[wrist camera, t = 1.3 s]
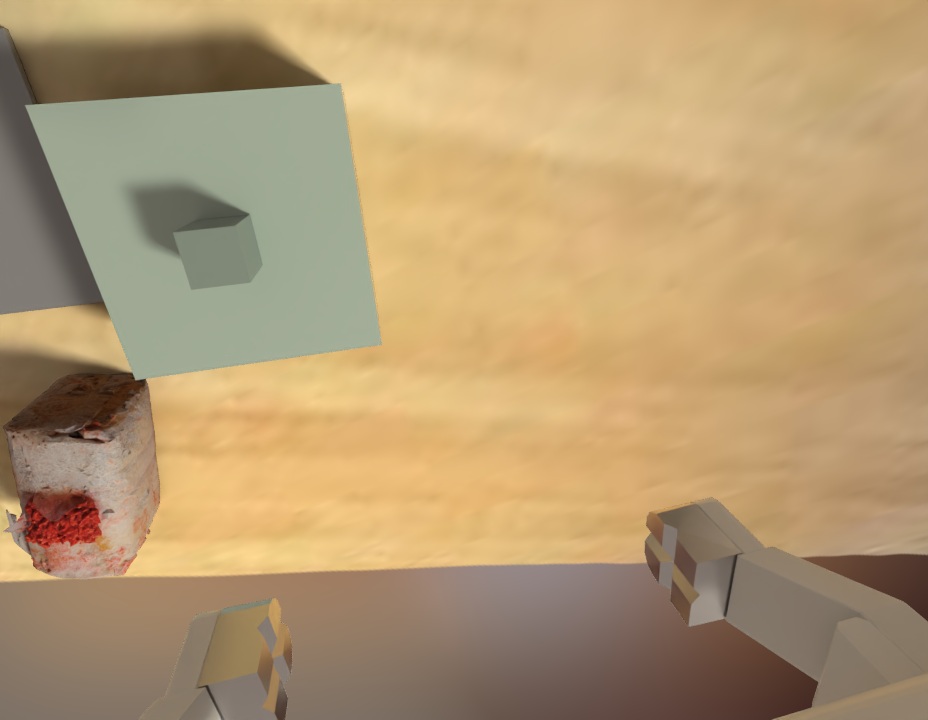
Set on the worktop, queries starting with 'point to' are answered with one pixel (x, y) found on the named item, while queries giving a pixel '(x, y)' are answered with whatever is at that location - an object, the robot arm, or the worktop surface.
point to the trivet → (33, 210)
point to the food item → (85, 475)
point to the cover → (218, 223)
